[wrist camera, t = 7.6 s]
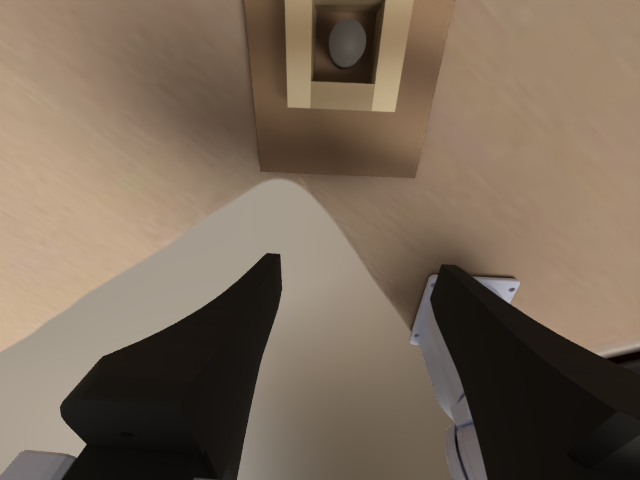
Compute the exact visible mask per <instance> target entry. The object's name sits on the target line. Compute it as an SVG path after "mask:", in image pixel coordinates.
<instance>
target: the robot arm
mask: <svg viewBox="0 0 640 480" xmlns="http://www.w3.org/2000/svg"><path fill="white" fill-rule="evenodd" d="M280 260H281V259H280V254H271V253H267V254H265V255H264V256H263V257H262V258H261V259H260V260H259V261H258V262H257V263H256V264H255V265H254V266H253V267H252V268H251V269H250V270H249V271H248V272H247V273H246V274H244V275H243V276H242V277H241V278H240V279H239V280H238V281H237V282H236V283H234V284H233V285H232V286H231V287H229V288H228V289H227V290H226V291H225V292H223V293H222V294H221V295H219V296H218V297H217V298H215V299H214V300H213V301H211V302H209V303H208V304H207V305H205V306H204V307H202V308H201V309H199V310H197V311H196V312H194V313H192V314H191V315H189V316H187V317H185V318H184V319H182V320H180V321H179V322H177V323H175V324H174V325H171V326H169V327H167V328H166V329H164V330H162V331H160V332H158V333H155V334H154V335H151V336H149V337H147V338H145V339H143V340H141V341H139V342H136V343H134V344H132V345H129V346H127V347H124V348H122V349H120V350H117V351H115V352H113V353H111V354H108V355H105V356H103V357H102V358H101V359H100V360H99V361H98V362H97V363H96V364H95V365H94V367H93V368H92V369H91V370H90V371H89V372H88V373H87V375H86V376H85V377H84V378H83V379H82V380H81V382H80V383H79V384H78V385H77V386H76V387H75V388H74V389H73V391H72V392H71V393H70V394H69V395H68V396H67V398H66V399H65V400H64V401H63V402H62V404H61V406H60V411H61V417H62V418H63V420H64V421H65V422H66V424H67V425H68V426H69V427H70V428H71V429H72V430H73V431H74V432H75V433H76V434H77V435H78V436H79V437H80V438H81V439H82V440H83V441H84V442H85V443H86V444H87V445H86V446H85V448H84V449H83V451H82V452H81V453H80V455H79V456H78V458H76V457H74V456H71V455H69V454H63V453H54V452H43V451H32V450H25V451H22V452H20V453H19V455H18V456H17V457H16V458H15V459H14V460H13V462H12V463H11V464H10V465H9V466H8V467H7V468H6V470H5V471H4V472H3V473H2V474H1V475H0V480H237V476H238V470H239V465H240V460H241V454H242V449H243V443H244V438H245V433H246V427H247V423H248V418H249V413H250V408H251V404H252V399H253V394H254V389H255V384H256V381H257V376H258V372H259V367H260V363H261V359H262V356H263V353H264V349H265V346H266V344H267V341H268V338H269V335H270V332H271V329H272V325H273V323H274V319H275V316H276V313H277V310H278V306H279V302H280V297H281V291H282V279H281V261H280ZM433 283H435V284H433ZM431 284H433V285H431ZM519 285H520V282H519V281H518V280H517V279H511V278H492V277H473V276H471V275H469V274H468V273H467V272H465V271H464V270H462V269H461V268H459V267H458V266H456V265H444V264H442V265H441V268H440V271H439V274H438V275H436V274H435V275H431V276H430V277H429V278H428V282H427V285H426V288H425V291H424V294H423V297H422V300H421V303H420V307H419V310H418V313H417V316H416V319H415V322H414V325H413V328H412V332H411V335H410V338H409V341H410V343H411V344H414V345H419V346H420V349H421V352H422V355H423V358H424V361H425V364H426V367H427V370H428V374H429V376H430V380H431V383H432V386H433V389H434V392H435V395H436V398H437V400H438V402H439V404H440V405H441V407H442V408H443V410H444V411H445V412H446V413H447V414H448V416H449V417H450V418H451V419H453V421H454V422H455V424H453V425H451V426H450V427H448V430H447V435H446V457H447V462H448V467H449V470H450V474H451V477H452V480H640V375H639V374H637V373H635V372H633V371H631V370H628V369H626V368H624V367H622V366H620V365H617V364H615V363H613V362H611V361H609V360H607V359H605V358H603V357H601V356H599V355H597V354H595V353H593V352H591V351H589V350H587V349H585V348H583V347H581V346H579V345H577V344H575V343H573V342H571V341H570V340H568V339H566V338H564V337H562V336H561V335H559V334H557V333H555V332H554V331H552V330H550V329H548V328H547V327H545V326H543V325H542V324H540V323H538V322H537V321H535V320H533V319H532V318H530V317H529V316H527V315H526V314H524V313H523V312H521V311H520V310H518V309H517V308H515V307H514V306H512V305H511V304H509V303H510V301H511V299H512V298H513V296H514V294H515V292H516V291H517V289H518V287H519Z"/></svg>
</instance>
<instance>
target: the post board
mask: <svg viewBox="0 0 640 480" xmlns="http://www.w3.org/2000/svg"><path fill="white" fill-rule="evenodd" d="M454 3H455V0H414V2H413V8H412V14H411V20H410V26H409V32H408V38H407V44H406V49H405V55H404V61H403V67H402V73H401V79H400V85H399V91H398V97H397V103H396V108H395V112H380V111H358V110H336V109H314V108H291V107H288V103H287V65H286V28H285V0H244V5H245V15H246V26H247V36H248V47H249V57H250V68H251V78H252V89H253V99H254V110H255V120H256V131H257V141H258V152H259V162H260V171H262V172H285V173H309V174H333V175H357V176H380V177H404V178H415V176H416V172H417V167H418V163H419V158H420V154H421V149H422V145H423V140H424V136H425V132H426V127H427V123H428V118H429V114H430V109H431V105H432V100H433V96H434V92H435V87H436V83H437V78H438V74H439V69H440V65H441V60H442V56H443V52H444V47H445V43H446V38H447V34H448V29H449V25H450V20H451V16H452V12H453V7H454ZM375 23H376V14H363V13H335V12H316V57H315V82H338V83H362V84H369V75H370V66H371V58H372V49H373V40H374V32H375Z"/></svg>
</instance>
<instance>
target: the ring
mask: <svg viewBox="0 0 640 480" xmlns="http://www.w3.org/2000/svg"><path fill="white" fill-rule="evenodd" d="M413 2H414V0H285V28H286V65H287V103H288V107H291V108H314V109H336V110H358V111H380V112H395V108H396V103H397V97H398V91H399V85H400V79H401V73H402V67H403V61H404V55H405V49H406V44H407V38H408V32H409V26H410V20H411V14H412V8H413ZM316 12H335V13H363V14H376V23H375V32H374V40H373V49H372V58H371V66H370V75H369V84H362V83H338V82H315V57H316Z"/></svg>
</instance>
